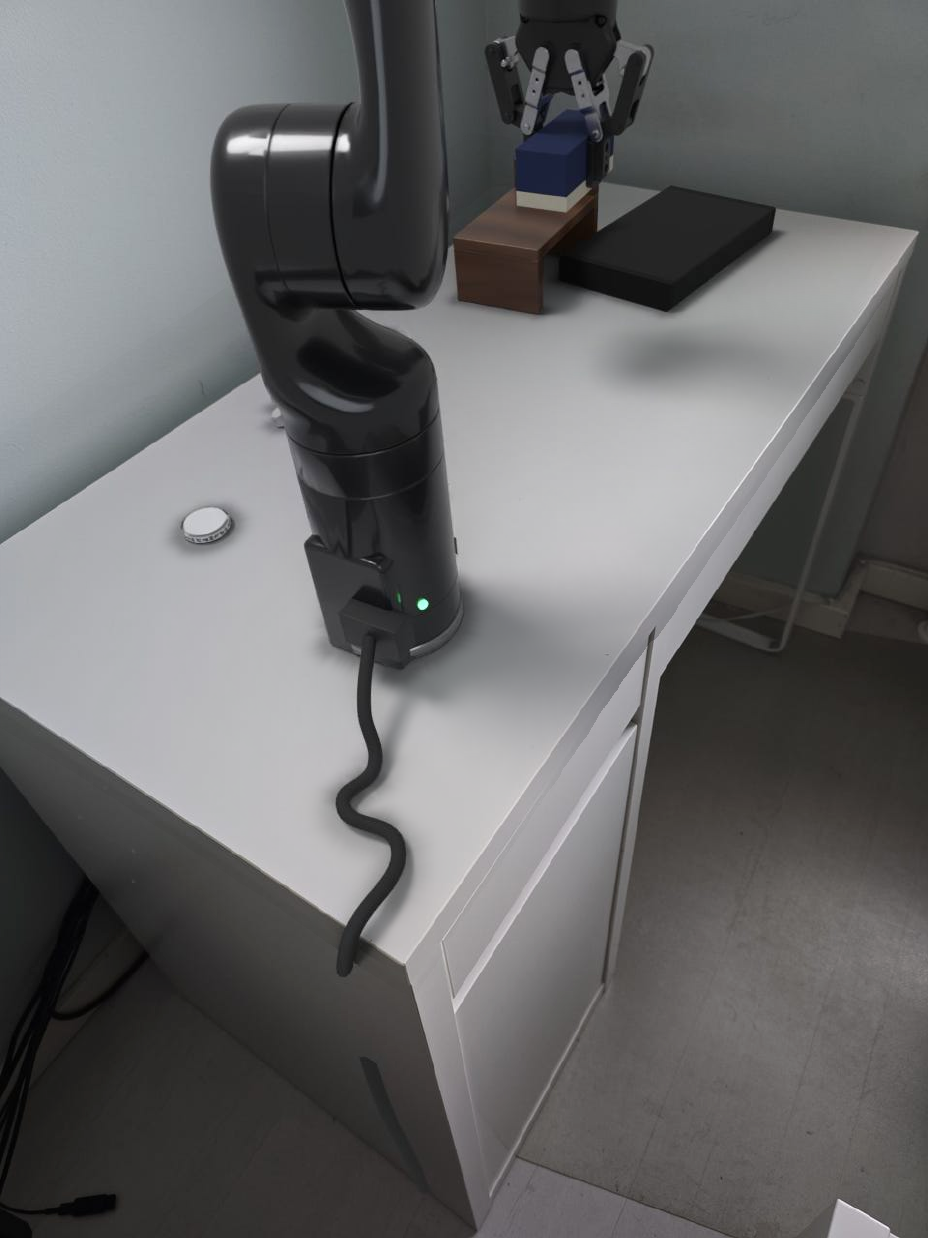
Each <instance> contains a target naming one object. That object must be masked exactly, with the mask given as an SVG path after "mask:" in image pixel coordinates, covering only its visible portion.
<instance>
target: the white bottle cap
mask: <svg viewBox="0 0 928 1238" xmlns="http://www.w3.org/2000/svg"><path fill="white" fill-rule="evenodd" d="M231 526H232V520H231V517H230V514H229V512H228V511H227V510H226V509H225V508H224V507H223V508H222V507H220V506H214V505H213V506H210V505H209V506H204V507H199V508H197V509H194V510H193V511H191V512H189V513H187V515H185V516H184V518H183V519H182V520H181V522H180V531H181V533H182V535H183V537H184V539H186V540H187V541H189V542H191V543H197V544H200V543H201V544H202V543H204V544H205V543H209V542H213V541H216V540H217V539H219V538H222V537H223V536H224V535H225V534H226V533H227V532H228V531H229V530H230V528H231Z"/></svg>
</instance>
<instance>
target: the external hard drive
mask: <svg viewBox="0 0 928 1238" xmlns="http://www.w3.org/2000/svg"><path fill="white" fill-rule="evenodd" d="M776 213H777V208H776V206H772V205H766V204H763V203H757V202H752V201H748V200H743V199H738V198H734V197H728V196H725V195H719V194H714V193H710V192H705V191H701V190H695V189H691V188H686V187H680V186H676V185H669V186H667V187H666V188H664V189H662V190H661V191H660V192H658V193H656V194H655V195H653V196H651V197H650V198H648V199H647V200H646V201H644V202H642V203H641V204H639V205H637V206H635V207H634V208H632V209H631V210H629V211H628V212H626V213H625V214H623V215H622V216H620V217H618V218H617V219H615V220H613V221H612V222H610V223H608V224H607V225H606V226H604V227H603V228H601V229H599V230H597V232H596V233H594V234H593V235H591V236H590V237H588V238H586V239H585V240H583V241H582V242H580V243H579V244H577V245H575V246H574V247H572V248H571V249H569V250H567V251H566V252H564V253H563V254H562V253H560V254H559V255H558V280H559V282H562V283H564V284H565V283H566V284H568V285H573V286H576V287H579V288H583V289H586V290H590V291H593V292H596V293H599V294H603V295H607V296H610V297H614V298H617V299H620V300H623V301H627V302H631V303H634V304H637V305H641V306H643V307H648V308H651V309H655V310H658V311H662V312H665V313H667V312H669V311H670V310H672V309H673V308H674V307H675V306H677V305H678V304H679V303H681V302H682V301H683V300H685V299H686V298H688V297H689V296H690V295H692V294H693V293H695V291H697V290H698V289H699V288H700V287H702V286H703V285H704V284H706V283H707V282H708V281H710V280H711V279H712V278H713V277H715V276H716V275H718V274H719V273H720V272H721V271H723V270H724V269H725V268H726V267H728V266H729V265H731V264H732V263H734V262H735V261H736V260H737V259H738V258H740V257H741V256H743V255H744V254H745V253H747V252H748V251H749V250H750V249H752V248H753V247H754V246H755V245H757V244H758V243H760V242H761V241H762V240H763V239H765V238H767V236H768V235H770V234H771V233H772V232H773V229H774V224H775V217H776Z"/></svg>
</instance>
